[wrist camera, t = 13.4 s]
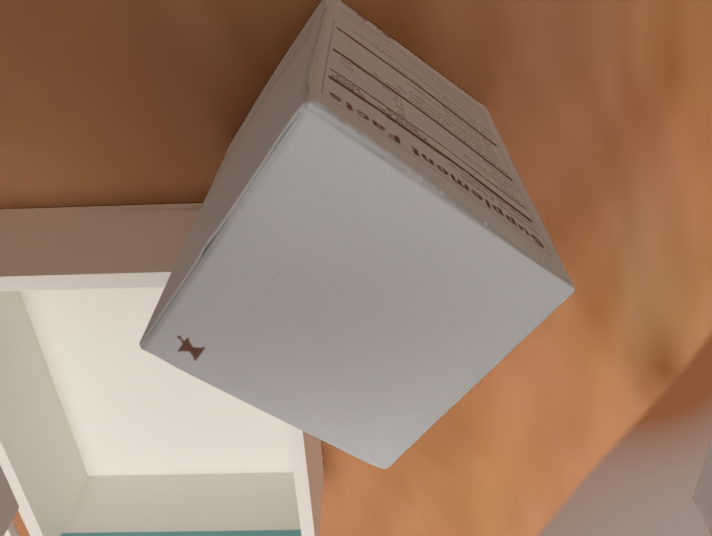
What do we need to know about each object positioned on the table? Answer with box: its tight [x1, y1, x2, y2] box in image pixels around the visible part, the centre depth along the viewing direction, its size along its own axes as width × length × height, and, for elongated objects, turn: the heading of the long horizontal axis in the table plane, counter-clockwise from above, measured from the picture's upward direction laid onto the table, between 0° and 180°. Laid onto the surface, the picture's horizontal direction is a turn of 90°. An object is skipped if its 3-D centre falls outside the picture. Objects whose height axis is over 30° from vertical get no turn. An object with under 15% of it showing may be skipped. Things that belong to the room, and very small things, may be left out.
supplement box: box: [140, 0, 575, 469], centre depth 20 cm, size 7×7×13 cm
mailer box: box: [0, 203, 324, 536], centre depth 29 cm, size 16×13×5 cm
